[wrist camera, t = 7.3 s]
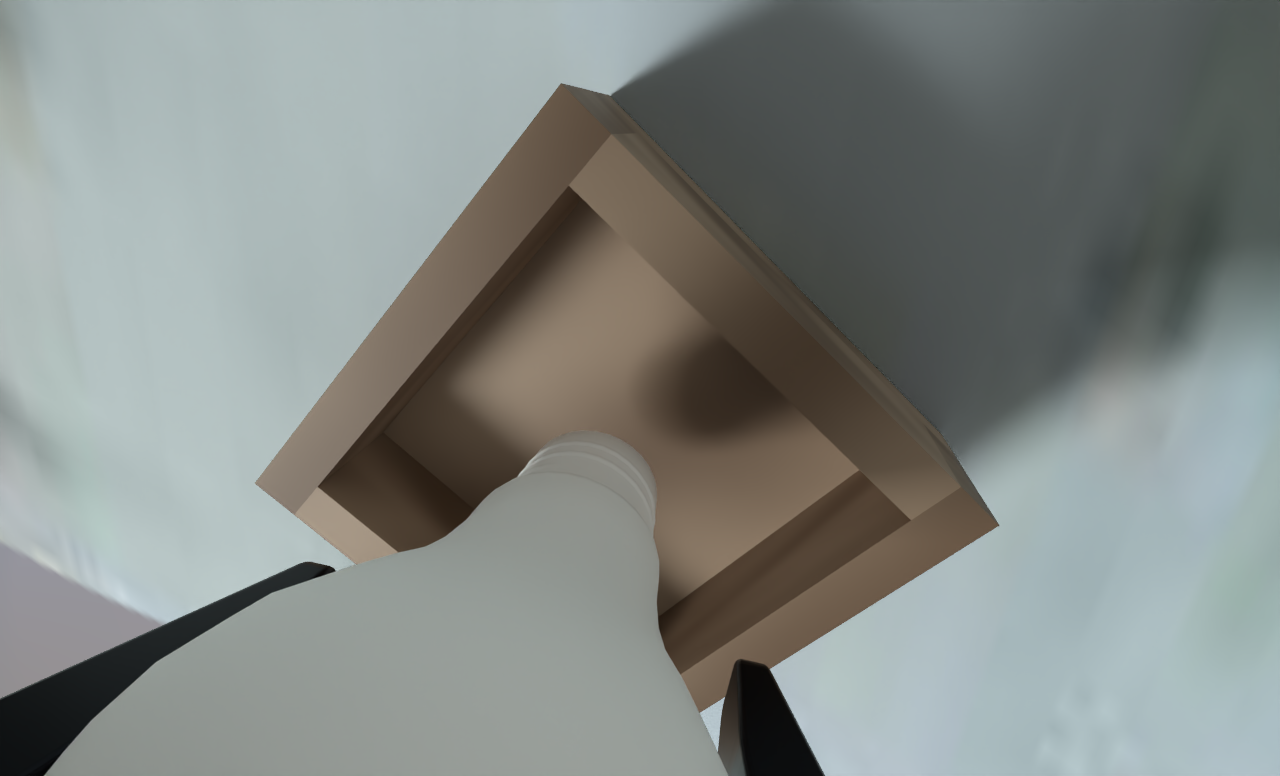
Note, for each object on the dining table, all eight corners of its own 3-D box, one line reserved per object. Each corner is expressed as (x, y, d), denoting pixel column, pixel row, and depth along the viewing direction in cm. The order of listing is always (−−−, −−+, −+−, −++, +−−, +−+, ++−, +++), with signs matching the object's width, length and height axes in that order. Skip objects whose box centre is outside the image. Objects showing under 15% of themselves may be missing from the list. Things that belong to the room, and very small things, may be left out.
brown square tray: (352, 413, 16) (255, 483, 13) (609, 95, 12) (560, 83, 9) (636, 651, 18) (611, 768, 14) (941, 433, 14) (999, 525, 11)
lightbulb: (399, 435, 13) (-725, 1424, 3) (617, 254, 11) (-746, 1563, 1) (588, 632, 14) (218, 1798, 4) (818, 504, 12) (1146, 2233, 2)
